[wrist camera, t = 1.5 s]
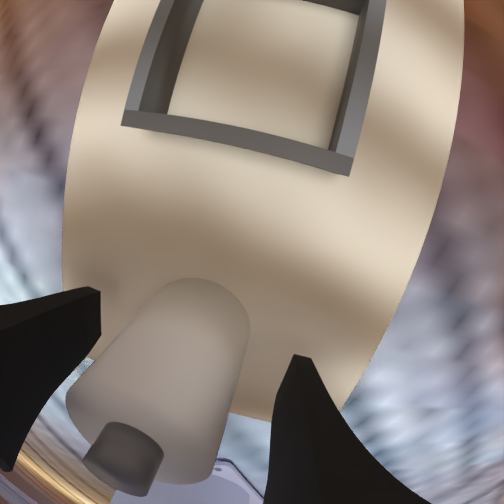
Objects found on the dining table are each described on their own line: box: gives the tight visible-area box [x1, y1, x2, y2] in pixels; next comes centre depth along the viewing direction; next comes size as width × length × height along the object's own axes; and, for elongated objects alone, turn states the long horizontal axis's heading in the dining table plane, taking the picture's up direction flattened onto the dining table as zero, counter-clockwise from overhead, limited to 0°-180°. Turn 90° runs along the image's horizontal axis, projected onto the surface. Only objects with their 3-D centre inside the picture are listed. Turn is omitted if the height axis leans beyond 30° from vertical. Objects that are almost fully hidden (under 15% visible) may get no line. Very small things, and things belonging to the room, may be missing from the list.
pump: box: [66, 278, 250, 497], centre depth 8 cm, size 4×4×7 cm
